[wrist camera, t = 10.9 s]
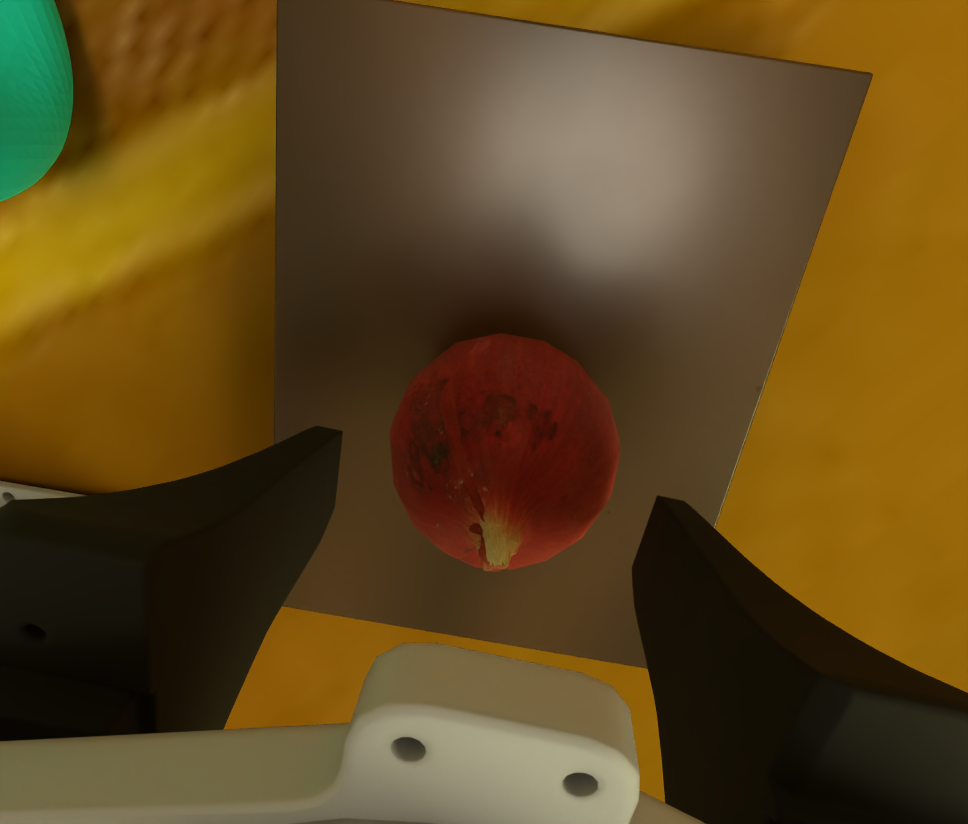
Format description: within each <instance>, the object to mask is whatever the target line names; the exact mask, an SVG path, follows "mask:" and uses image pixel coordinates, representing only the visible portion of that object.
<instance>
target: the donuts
mask: <svg viewBox="0 0 968 824" xmlns="http://www.w3.org/2000/svg"><path fill="white" fill-rule="evenodd" d="M72 111H73V73H72V66H71V60H70V54H69V49H68V44H67V40H66V36H65V32H64V28H63V25H62V21H61V18H60V15H59V12H58V9H57V6H56V4H55V1H54V0H0V201H3V200H6V199H9V198H11V197H13V196H15V195H17V194H19V193H21V192H23V191H24V190H26V189H28V188H29V187H31V186H32V185H34V184H35V183H36V182H37V181H39V180H40V179H41V178H42V177H43V176H44V175H45V174H46V172H47V171H48V170H49V169H50V167H51V166H52V165H53V164H54V162H55V161H56V160H57V158H58V156H59V155H60V153H61V151H62V149H63V147H64V144H65V141H66V138H67V135H68V132H69V128H70V123H71V116H72Z"/></svg>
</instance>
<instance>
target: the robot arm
mask: <svg viewBox="0 0 968 824" xmlns="http://www.w3.org/2000/svg"><path fill="white" fill-rule="evenodd" d="M342 435H343V431H341V430H336V429H331V428H326V427H321V426H314V427H311V428H309V429H307V430H304V431H302V432H300V433H298V434H296V435H294V436H292V437H290V438H287V439H285V440H283V441H281V442H279V443H277V444H275V445H272V446H270V447H268V448H266V449H264V450H262V451H259V452H257V453H255V454H252V455H250V456H247V457H245V458H242V459H240V460H237V461H235V462H232V463H230V464H227V465H225V466H222V467H219V468H216V469H214V470H210V471H207V472H204V473H201V474H197V475H194V476H191V477H187V478H184V479H180V480H176V481H171V482H167V483H162V484H157V485H152V486H148V487H143V488H138V489H133V490H127V491H120V492H113V493H106V494H97V495H88V496H87V495H81V494H75V493H69V492H63V491H57V490H51V489H45V488H39V487H33V486H27V485H22V484H16V483H10V482H4V481H0V824H968V693H967V692H964V691H962V690H960V689H958V688H955V687H953V686H951V685H949V684H946V683H944V682H942V681H940V680H937V679H935V678H933V677H931V676H928V675H926V674H924V673H922V672H919V671H917V670H915V669H913V668H911V667H909V666H907V665H905V664H903V663H901V662H899V661H897V660H895V659H894V658H892V657H890V656H888V655H886V654H884V653H882V652H880V651H878V650H876V649H874V648H873V647H871V646H869V645H867V644H866V643H864V642H862V641H860V640H858V639H857V638H855V637H853V636H852V635H850V634H848V633H847V632H845V631H844V630H842V629H840V628H839V627H837V626H835V625H834V624H832V623H831V622H829V621H827V620H826V619H824V618H823V617H821V616H820V615H818V614H817V613H815V612H814V611H812V610H811V609H809V608H808V607H807V606H805V605H804V604H803V603H801V602H800V601H798V600H797V599H796V598H794V597H793V596H792V595H790V594H789V593H787V592H786V591H785V590H783V589H782V588H781V587H780V586H778V585H777V584H776V583H775V582H773V581H772V580H771V579H770V578H769V577H767V576H766V575H765V574H764V573H763V572H761V571H760V570H759V569H758V568H757V567H756V566H754V565H753V564H752V563H751V562H750V561H749V560H748V559H747V558H745V557H744V556H743V555H742V554H741V553H740V552H739V551H738V550H737V549H736V548H734V547H733V546H732V545H731V544H730V543H729V542H728V541H727V540H726V539H725V538H724V537H723V536H722V535H721V534H720V533H719V532H718V531H717V530H716V529H715V528H714V527H713V526H712V525H710V524H709V523H708V522H707V521H706V520H705V519H704V518H703V517H702V516H701V515H700V514H699V513H698V512H697V511H696V510H695V509H693V508H692V507H691V506H690V505H689V504H687V503H686V502H685V501H683V500H678V499H673V498H668V497H663V496H658V495H657V497H656V500H655V502H654V505H653V508H652V511H651V514H650V517H649V520H648V522H647V525H646V528H645V531H644V534H643V537H642V540H641V543H640V545H639V548H638V551H637V554H636V557H635V560H634V563H633V565H632V585H633V598H634V608H635V613H636V618H637V623H638V627H639V632H640V636H641V641H642V645H643V650H644V654H645V659H646V663H647V667H648V672H649V676H650V681H651V685H652V690H653V694H654V700H655V705H656V711H657V719H658V728H659V737H660V747H661V756H662V768H663V780H664V791H665V803H664V802H662V801H660V800H658V799H656V798H654V797H652V796H650V795H648V794H646V793H644V792H642V791H640V790H639V780H640V774H639V767H638V761H637V755H636V748H635V742H634V735H633V729H632V722H631V716H630V710H629V707H628V706H627V704H626V703H625V702H624V701H623V699H622V698H621V697H620V695H619V694H618V693H617V692H616V690H615V689H614V688H613V686H611V685H609V684H607V683H604V682H602V681H600V680H597V679H595V678H593V677H590V676H588V675H586V674H583V673H581V672H576V671H571V670H566V669H561V668H556V667H551V666H546V665H542V664H537V663H532V662H527V661H522V660H517V659H512V658H507V657H503V656H498V655H493V654H488V653H483V652H478V651H473V650H468V649H463V648H459V647H454V646H449V645H444V644H439V643H403V644H401V645H399V646H397V647H395V648H393V649H391V650H389V651H387V652H385V653H383V654H381V655H379V656H377V657H376V659H375V661H374V663H373V665H372V667H371V668H370V670H369V672H368V674H367V676H366V677H365V680H364V683H363V686H362V689H361V692H360V695H359V698H358V701H357V705H356V708H355V711H354V714H353V717H352V720H351V722H350V723H342V724H323V725H304V726H285V727H266V728H247V729H227V730H223V729H224V727H225V724H226V722H227V719H228V717H229V715H230V712H231V710H232V708H233V706H234V703H235V701H236V699H237V696H238V694H239V692H240V690H241V687H242V685H243V683H244V681H245V678H246V676H247V674H248V672H249V669H250V667H251V665H252V663H253V661H254V659H255V656H256V654H257V652H258V650H259V648H260V646H261V644H262V641H263V639H264V637H265V635H266V633H267V631H268V629H269V627H270V626H271V624H272V622H273V620H274V618H275V616H276V615H277V613H278V611H279V610H280V608H281V606H282V605H283V603H284V602H285V600H286V598H287V597H288V595H289V593H290V592H291V590H292V588H293V587H294V585H295V584H296V582H297V580H298V579H299V577H300V575H301V574H302V572H303V570H304V569H305V567H306V565H307V564H308V562H309V560H310V559H311V557H312V555H313V554H314V552H315V550H316V549H317V547H318V545H319V544H320V542H321V539H322V537H323V535H324V533H325V530H326V528H327V526H328V523H329V521H330V518H331V516H332V513H333V511H334V509H335V503H336V493H337V484H338V474H339V464H340V455H341V445H342ZM11 494H12V495H13V496H14V497H13V496H12V495H11Z"/></svg>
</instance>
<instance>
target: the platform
mask: <svg viewBox="0 0 968 824" xmlns="http://www.w3.org/2000/svg"><path fill="white" fill-rule="evenodd" d="M872 77H873V74H872V73H869V72H862V71H856V70H849V69H843V68H836V67H829V66H823V65H816V64H810V63H803V62H796V61H790V60H783V59H777V58H770V57H764V56H757V55H750V54H744V53H737V52H731V51H724V50H717V49H711V48H704V47H698V46H691V45H685V44H678V43H671V42H665V41H658V40H652V39H645V38H638V37H632V36H625V35H619V34H612V33H605V32H599V31H592V30H586V29H579V28H573V27H566V26H559V25H553V24H546V23H540V22H533V21H526V20H520V19H513V18H507V17H500V16H494V15H487V14H480V13H474V12H467V11H461V10H454V9H447V8H441V7H434V6H428V5H421V4H415V3H408V2H401V1H395V0H277V68H276V232H275V397H274V445H275V444H277V443H279V442H281V441H283V440H285V439H287V438H290V437H292V436H294V435H296V434H298V433H300V432H302V431H304V430H307V429H309V428H311V427H314V426H321V427H326V428H331V429H336V430H341V431H343V435H342V445H341V455H340V464H339V474H338V484H337V493H336V503H335V509H334V511H333V513H332V516H331V518H330V521H329V523H328V526H327V528H326V530H325V533H324V535H323V537H322V539H321V542H320V544H319V545H318V547H317V549H316V550H315V552H314V554H313V555H312V557H311V559H310V560H309V562H308V564H307V565H306V567H305V569H304V570H303V572H302V574H301V575H300V577H299V579H298V580H297V582H296V584H295V585H294V587H293V588H292V590H291V592H290V593H289V595H288V597H287V598H286V600H285V602H284V603H283V605H282V606H284V607H290V608H296V609H302V610H308V611H313V612H319V613H325V614H331V615H337V616H343V617H348V618H354V619H360V620H366V621H372V622H378V623H384V624H389V625H395V626H401V627H407V628H413V629H419V630H425V631H430V632H436V633H442V634H448V635H454V636H460V637H465V638H471V639H477V640H483V641H489V642H495V643H501V644H506V645H512V646H518V647H524V648H530V649H536V650H541V651H547V652H553V653H559V654H565V655H571V656H577V657H582V658H588V659H594V660H600V661H606V662H612V663H618V664H623V665H629V666H635V667H641V668H647V669H648V667H647V663H646V659H645V654H644V650H643V645H642V641H641V636H640V632H639V627H638V623H637V618H636V613H635V608H634V598H633V585H632V565H633V563H634V560H635V557H636V554H637V551H638V548H639V545H640V543H641V540H642V537H643V534H644V531H645V528H646V525H647V522H648V520H649V517H650V514H651V511H652V508H653V505H654V502H655V500H656V497H657V495H658V496H663V497H668V498H673V499H678V500H683V501H685V502H686V503H687V504H689V505H690V506H691V507H692V508H693V509H695V510H696V511H697V512H698V513H699V514H700V515H701V516H702V517H703V518H704V519H705V520H706V521H707V522H708V523H709V524H710V525H712V526H713V527H714V528H715V527H716V524H717V521H718V518H719V515H720V513H721V510H722V507H723V504H724V501H725V498H726V495H727V492H728V490H729V487H730V484H731V481H732V478H733V475H734V472H735V470H736V467H737V464H738V461H739V458H740V455H741V452H742V449H743V447H744V444H745V441H746V438H747V435H748V432H749V429H750V427H751V424H752V421H753V418H754V415H755V412H756V409H757V406H758V404H759V401H760V398H761V395H762V392H763V389H764V386H765V384H766V381H767V378H768V375H769V372H770V369H771V366H772V363H773V361H774V358H775V355H776V352H777V349H778V346H779V343H780V341H781V338H782V335H783V332H784V329H785V326H786V323H787V320H788V318H789V315H790V312H791V309H792V306H793V303H794V300H795V297H796V295H797V292H798V289H799V286H800V283H801V280H802V277H803V275H804V272H805V269H806V266H807V263H808V260H809V257H810V254H811V252H812V249H813V246H814V243H815V240H816V237H817V234H818V232H819V229H820V226H821V223H822V220H823V217H824V214H825V211H826V209H827V206H828V203H829V200H830V197H831V194H832V191H833V189H834V186H835V183H836V180H837V177H838V174H839V171H840V168H841V166H842V163H843V160H844V157H845V154H846V151H847V148H848V146H849V143H850V140H851V137H852V134H853V131H854V128H855V125H856V123H857V120H858V117H859V114H860V111H861V108H862V105H863V103H864V100H865V97H866V94H867V91H868V88H869V85H870V82H871V80H872ZM499 333H503V334H509V335H514V336H520V337H526V338H532V339H537V340H543V341H545V342H547V343H549V344H550V345H552V346H554V347H555V348H557V349H559V350H560V351H562V352H564V353H565V354H567V355H569V356H570V357H572V358H574V359H575V360H577V361H578V362H579V363H580V365H581V366H582V367H583V369H584V370H585V371H586V373H587V374H588V375H589V377H590V378H591V379H592V381H593V382H594V383H595V384H596V385H597V386H598V388H599V389H600V390H601V391H602V392H603V394H604V395H605V396H606V397H607V398H608V400H609V403H610V407H611V410H612V414H613V418H614V421H615V425H616V429H617V432H618V436H619V441H620V456H619V461H618V466H617V471H616V476H615V481H614V486H613V491H612V495H611V497H610V498H609V500H608V502H607V504H606V506H605V507H604V508H603V510H602V511H601V513H600V514H599V515H598V517H597V518H596V519H595V521H594V522H593V524H592V525H591V526H590V528H589V529H588V531H587V532H586V533H585V535H584V536H583V537H582V538H581V539H580V540H578V541H577V542H575V543H574V544H572V545H571V546H569V547H567V548H566V549H564V550H563V551H561V552H559V553H558V554H556V555H554V556H553V557H551V558H550V559H548V560H546V561H544V562H540V563H536V564H532V565H528V566H524V567H520V568H516V569H512V570H510V569H503V570H501V571H498V572H491V571H484V569H483V568H477V567H474V566H471V565H469V564H467V563H465V562H463V561H461V560H459V559H457V558H454V557H452V556H450V555H447V554H446V553H444V552H442V551H441V550H440V549H439V548H438V547H436V546H435V545H434V544H433V543H432V542H431V541H430V540H429V539H428V538H426V537H425V536H424V535H423V534H422V533H421V532H420V531H419V530H417V529H416V528H415V527H414V525H413V523H412V521H411V519H410V517H409V515H408V513H407V511H406V509H405V507H404V505H403V503H402V501H401V499H400V497H399V495H398V493H397V491H396V489H395V487H394V483H393V473H392V460H391V448H390V435H389V433H390V429H391V426H392V423H393V419H394V417H395V414H396V412H397V410H398V407H399V405H400V403H401V401H402V398H403V396H404V394H405V392H406V389H407V387H408V385H409V383H410V380H411V379H412V378H413V377H414V376H415V375H416V374H417V373H418V372H419V371H421V370H422V369H423V368H424V367H425V366H427V365H428V364H429V363H430V362H432V361H433V360H434V359H436V358H437V357H438V356H439V355H441V354H442V353H443V352H444V351H446V350H447V349H448V348H450V347H451V346H452V345H453V344H455V343H456V342H460V341H465V340H469V339H474V338H479V337H484V336H489V335H494V334H499Z"/></svg>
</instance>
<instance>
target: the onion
mask: <svg viewBox="0 0 968 824" xmlns="http://www.w3.org/2000/svg"><path fill="white" fill-rule="evenodd" d="M389 435H390V448H391V460H392V473H393V483H394V487H395V489H396V491H397V493H398V495H399V497H400V499H401V501H402V503H403V505H404V507H405V509H406V511H407V513H408V515H409V517H410V519H411V521H412V523H413V525H414V527H415V528H416V529H417V530H419V531H420V532H421V533H422V534H423V535H424V536H425V537H426V538H428V539H429V540H430V541H431V542H432V543H433V544H434V545H435V546H436V547H438V548H439V549H440V550H441V551H442V552H444V553H446V554H447V555H450V556H452V557H454V558H457V559H459V560H461V561H463V562H465V563H467V564H469V565H471V566H474V567H477V568H483V569H484V571H491V572H498V571H501V570H503V569H510V570H512V569H516V568H520V567H524V566H528V565H532V564H536V563H540V562H544V561H546V560H548V559H550V558H551V557H553V556H554V555H556V554H558V553H559V552H561V551H563V550H564V549H566V548H567V547H569V546H571V545H572V544H574V543H575V542H577V541H578V540H580V539H581V538H582V537H583V536H584V535H585V533H586V532H587V531H588V529H589V528H590V526H591V525H592V524H593V522H594V521H595V519H596V518H597V517H598V515H599V514H600V513H601V511H602V510H603V508H604V507H605V506H606V504H607V502H608V500H609V498H610V497H611V495H612V491H613V486H614V481H615V476H616V471H617V466H618V461H619V456H620V441H619V436H618V432H617V429H616V425H615V421H614V418H613V414H612V410H611V407H610V403H609V400H608V398H607V397H606V396H605V395H604V394H603V392H602V391H601V390H600V389H599V388H598V386H597V385H596V384H595V383H594V382H593V381H592V379H591V378H590V377H589V375H588V374H587V373H586V371H585V370H584V369H583V367H582V366H581V365H580V363H579V362H578V361H577V360H575V359H574V358H572V357H570V356H569V355H567V354H565V353H564V352H562V351H560V350H559V349H557V348H555V347H554V346H552V345H550V344H549V343H547V342H545V341H543V340H537V339H532V338H526V337H520V336H514V335H509V334H503V333H499V334H494V335H489V336H484V337H479V338H474V339H469V340H465V341H460V342H456V343H455V344H453V345H452V346H451V347H450V348H448V349H447V350H446V351H444V352H443V353H442V354H441V355H439V356H438V357H437V358H436V359H434V360H433V361H432V362H430V363H429V364H428V365H427V366H425V367H424V368H423V369H422V370H421V371H419V372H418V373H417V374H416V375H415V376H414V377H413V378H412V379H411V380H410V383H409V385H408V387H407V389H406V392H405V394H404V396H403V398H402V401H401V403H400V405H399V407H398V410H397V412H396V414H395V417H394V419H393V423H392V426H391V429H390V433H389Z"/></svg>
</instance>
